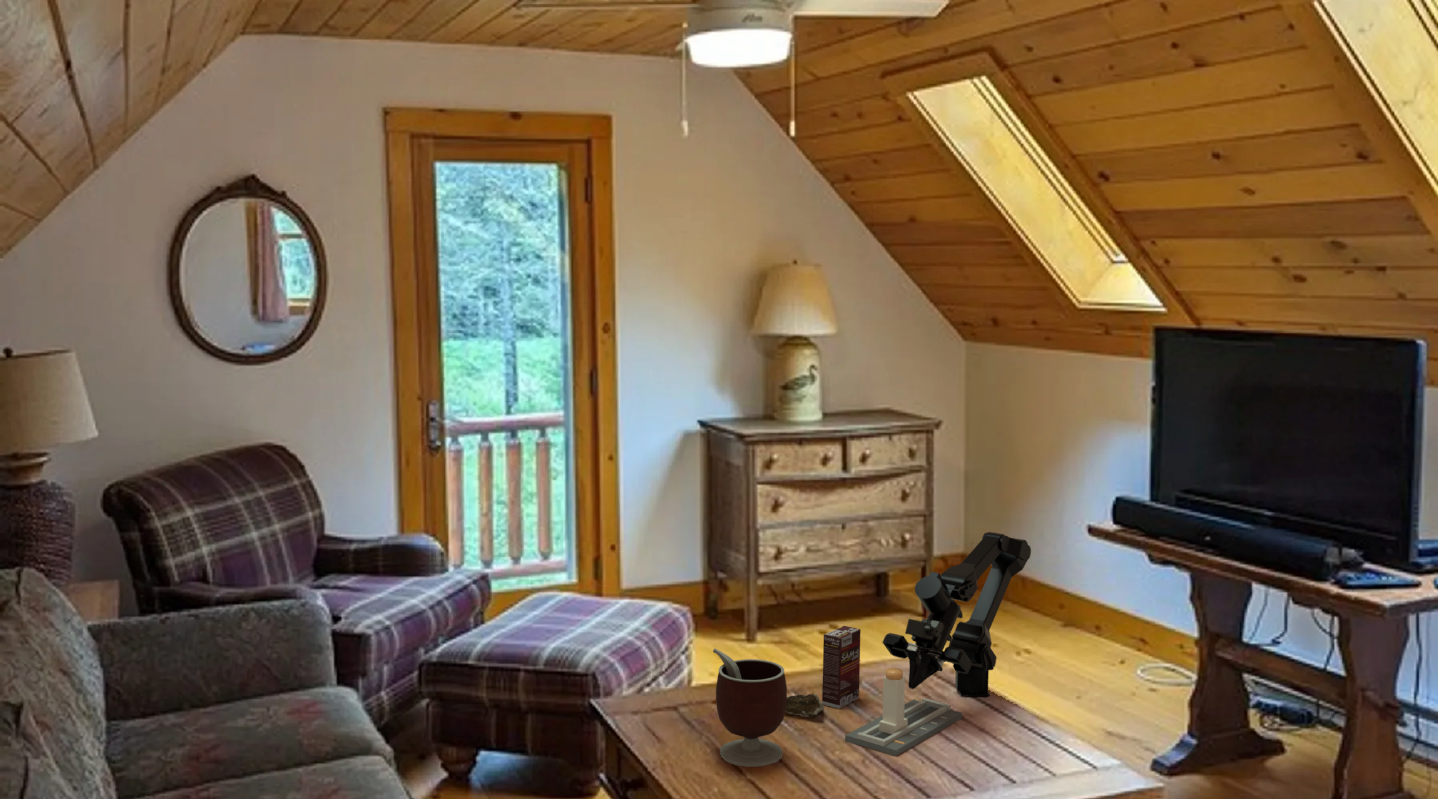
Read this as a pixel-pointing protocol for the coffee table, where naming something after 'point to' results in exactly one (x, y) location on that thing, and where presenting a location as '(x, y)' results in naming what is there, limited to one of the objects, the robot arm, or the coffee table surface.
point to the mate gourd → (750, 708)
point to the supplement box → (841, 667)
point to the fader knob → (893, 702)
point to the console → (921, 726)
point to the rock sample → (804, 705)
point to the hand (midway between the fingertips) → (910, 687)
